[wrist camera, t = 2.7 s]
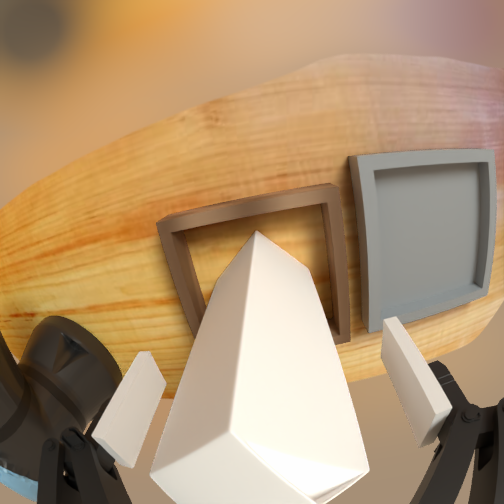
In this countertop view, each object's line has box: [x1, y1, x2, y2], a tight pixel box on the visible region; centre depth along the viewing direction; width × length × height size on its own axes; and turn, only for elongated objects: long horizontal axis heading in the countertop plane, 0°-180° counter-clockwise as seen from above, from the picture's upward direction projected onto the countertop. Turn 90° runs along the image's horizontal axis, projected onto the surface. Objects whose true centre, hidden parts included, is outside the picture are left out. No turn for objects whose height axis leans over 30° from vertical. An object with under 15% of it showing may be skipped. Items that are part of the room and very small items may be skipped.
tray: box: [348, 148, 497, 333], centre depth 21 cm, size 16×16×2 cm
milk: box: [149, 230, 370, 504], centre depth 14 cm, size 6×6×22 cm
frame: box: [156, 183, 350, 345], centre depth 23 cm, size 14×14×3 cm
